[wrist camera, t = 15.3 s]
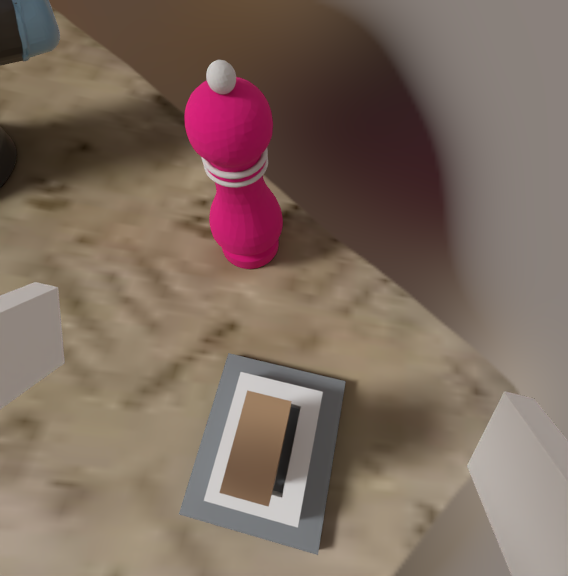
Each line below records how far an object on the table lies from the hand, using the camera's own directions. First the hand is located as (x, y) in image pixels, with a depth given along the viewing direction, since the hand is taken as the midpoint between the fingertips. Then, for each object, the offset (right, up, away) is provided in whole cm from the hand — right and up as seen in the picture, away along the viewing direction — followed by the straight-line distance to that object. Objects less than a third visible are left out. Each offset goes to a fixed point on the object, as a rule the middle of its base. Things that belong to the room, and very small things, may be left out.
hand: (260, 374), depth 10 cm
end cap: (-1, -11, +20) cm, 22 cm away
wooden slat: (-1, -11, +18) cm, 21 cm away
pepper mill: (-3, +7, +28) cm, 29 cm away
